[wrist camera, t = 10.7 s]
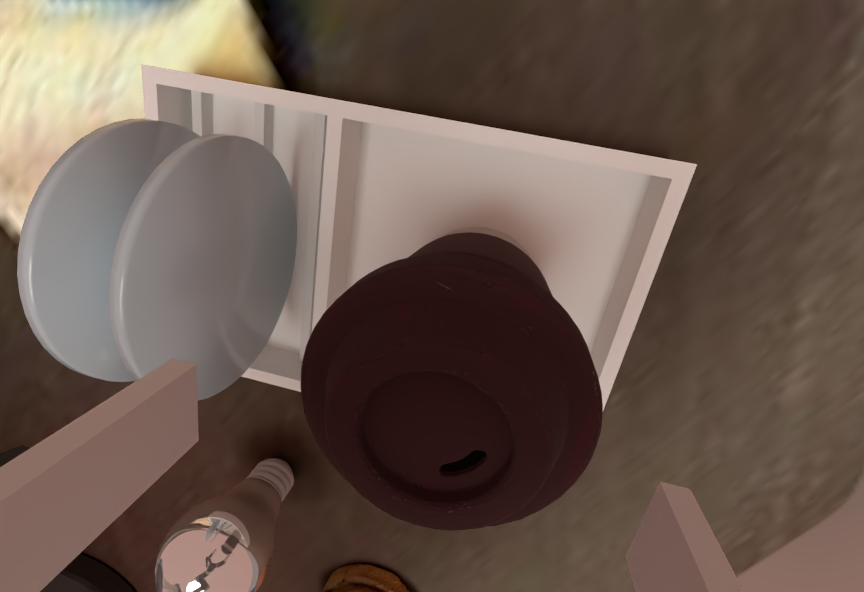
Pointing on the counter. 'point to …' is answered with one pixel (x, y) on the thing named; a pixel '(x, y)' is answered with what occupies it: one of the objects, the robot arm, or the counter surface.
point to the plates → (158, 253)
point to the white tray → (439, 203)
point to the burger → (363, 580)
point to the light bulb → (226, 536)
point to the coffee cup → (453, 385)
